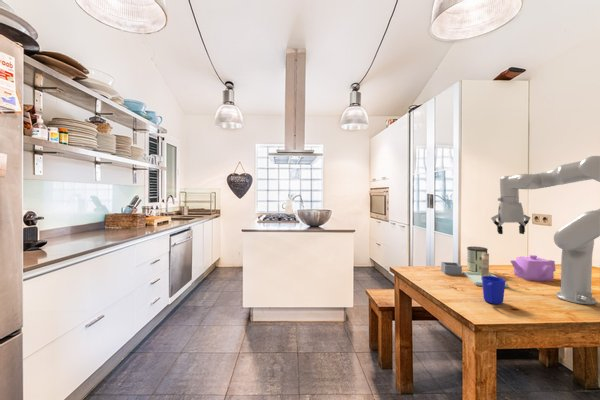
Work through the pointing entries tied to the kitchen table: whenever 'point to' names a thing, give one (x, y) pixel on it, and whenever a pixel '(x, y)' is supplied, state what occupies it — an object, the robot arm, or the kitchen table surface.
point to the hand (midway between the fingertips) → (511, 233)
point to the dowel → (485, 265)
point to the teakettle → (534, 268)
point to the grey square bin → (451, 268)
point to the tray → (478, 278)
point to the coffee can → (475, 258)
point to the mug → (493, 289)
